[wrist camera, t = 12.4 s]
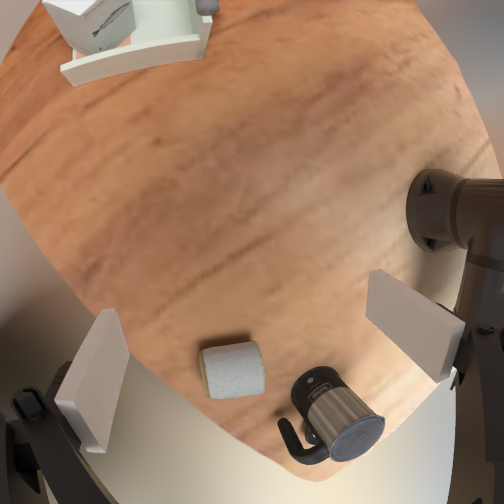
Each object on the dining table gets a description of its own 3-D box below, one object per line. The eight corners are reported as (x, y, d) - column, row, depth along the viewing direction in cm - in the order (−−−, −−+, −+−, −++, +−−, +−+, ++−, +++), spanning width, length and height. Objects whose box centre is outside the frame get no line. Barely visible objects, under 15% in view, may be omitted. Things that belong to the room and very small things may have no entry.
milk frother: (317, 356, 45) (366, 408, 31) (366, 388, 50) (411, 431, 36) (261, 416, 45) (290, 478, 31) (317, 439, 50) (351, 488, 36)
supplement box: (101, 65, 29) (77, 18, 17) (68, 46, 27) (38, 1, 15) (138, 28, 29) (130, -27, 17) (103, 11, 27) (88, -41, 15)
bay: (197, -10, 30) (208, -61, 19) (208, 58, 33) (222, 10, 22) (77, 14, 26) (56, -31, 15) (74, 87, 29) (41, 50, 18)
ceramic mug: (194, 340, 40) (199, 369, 32) (251, 331, 42) (267, 358, 34) (204, 397, 42) (211, 429, 35) (255, 388, 44) (270, 418, 36)
